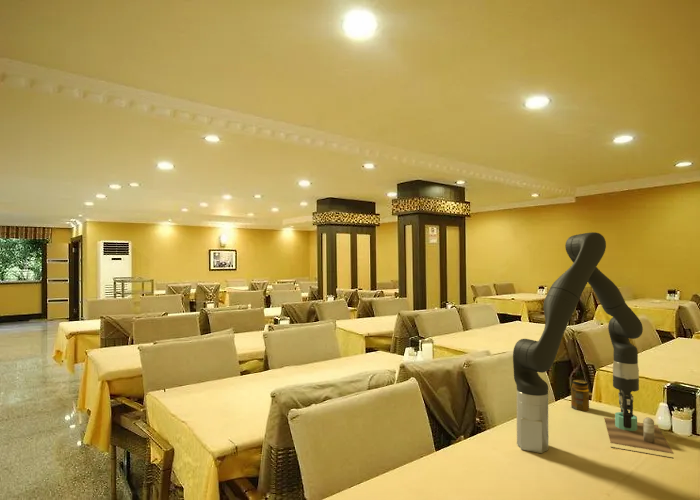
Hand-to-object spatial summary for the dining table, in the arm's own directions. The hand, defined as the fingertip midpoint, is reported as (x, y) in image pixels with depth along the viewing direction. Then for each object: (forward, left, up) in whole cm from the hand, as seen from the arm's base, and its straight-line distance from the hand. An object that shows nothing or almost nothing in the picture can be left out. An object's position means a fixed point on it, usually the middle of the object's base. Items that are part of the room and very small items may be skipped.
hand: (626, 423), depth 145 cm
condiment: (+13, +14, -3) cm, 19 cm away
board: (-5, -2, -3) cm, 6 cm away
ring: (0, 0, -1) cm, 1 cm away
